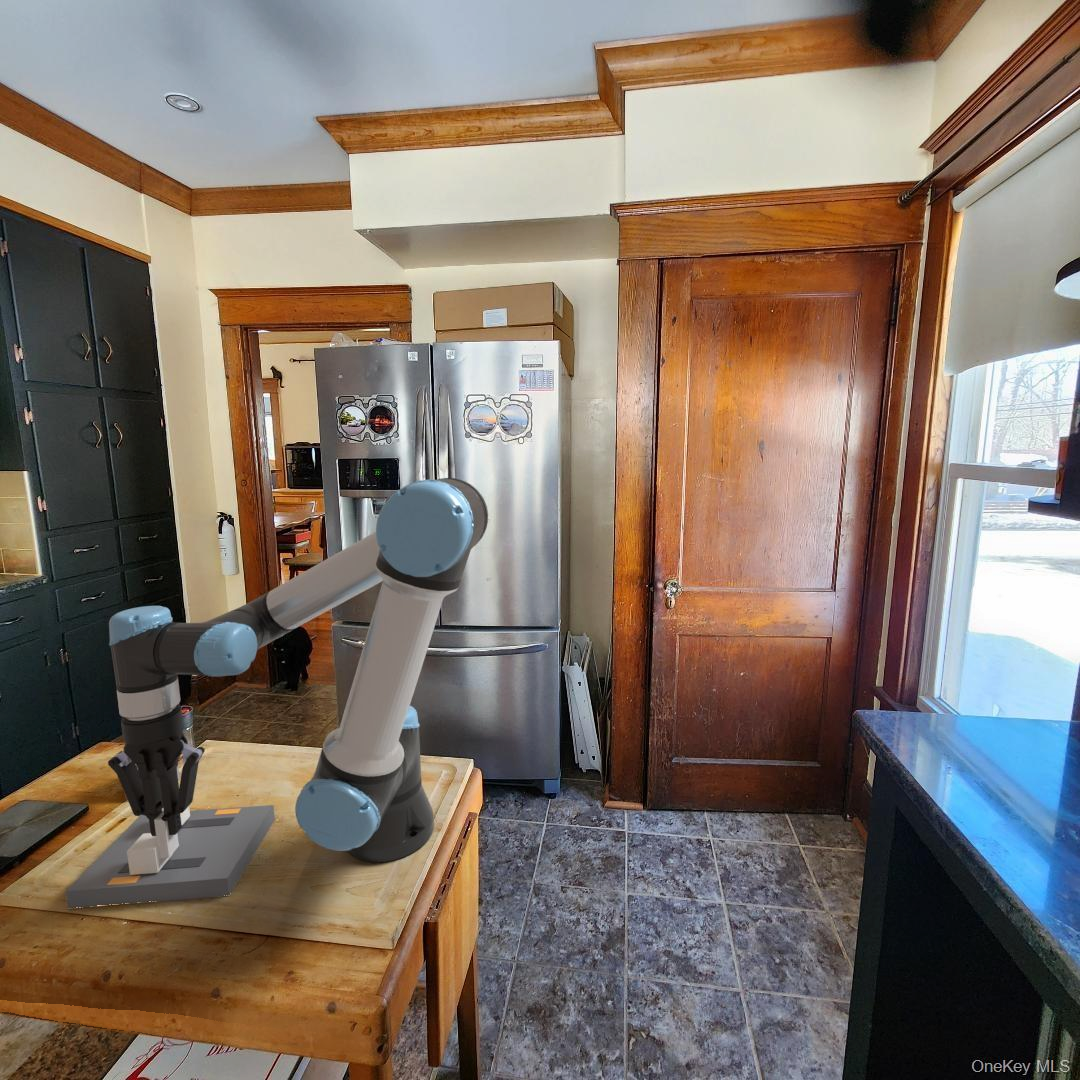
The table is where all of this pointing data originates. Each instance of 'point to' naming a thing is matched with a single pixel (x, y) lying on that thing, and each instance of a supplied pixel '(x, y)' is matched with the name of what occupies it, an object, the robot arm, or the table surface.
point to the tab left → (145, 856)
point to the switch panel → (178, 860)
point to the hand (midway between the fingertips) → (169, 852)
